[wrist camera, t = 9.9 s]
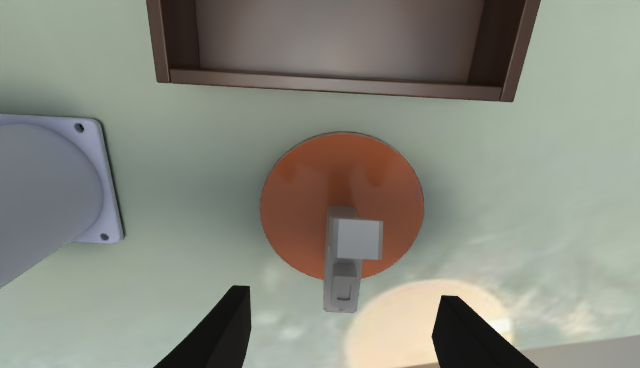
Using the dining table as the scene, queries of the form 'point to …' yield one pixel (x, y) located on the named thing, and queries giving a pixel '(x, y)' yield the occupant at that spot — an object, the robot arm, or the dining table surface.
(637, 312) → the dining table surface
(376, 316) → the dining table surface
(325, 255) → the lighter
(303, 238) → the coaster
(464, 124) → the dining table surface
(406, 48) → the tray
